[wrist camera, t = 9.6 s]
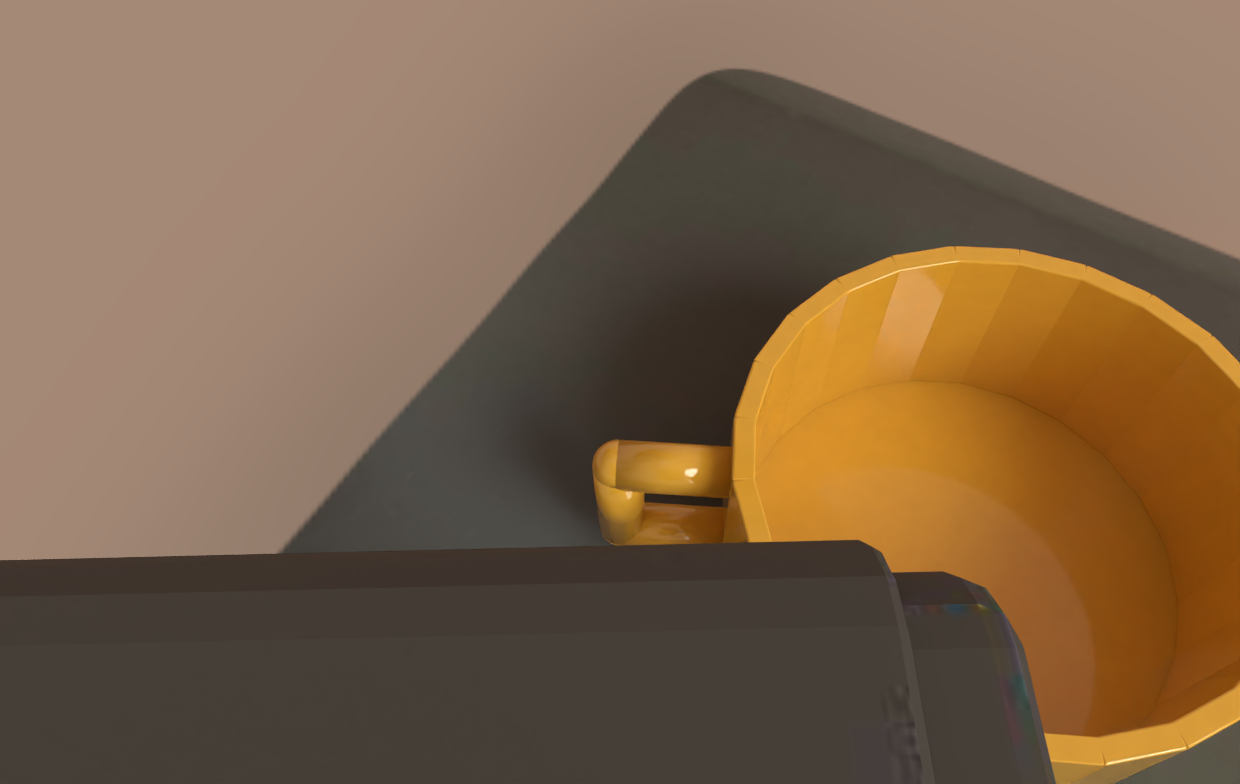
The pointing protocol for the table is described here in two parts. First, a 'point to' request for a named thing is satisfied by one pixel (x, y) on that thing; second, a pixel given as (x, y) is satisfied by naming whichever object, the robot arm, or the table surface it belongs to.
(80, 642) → the card reader
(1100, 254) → the table surface
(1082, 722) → the mug
